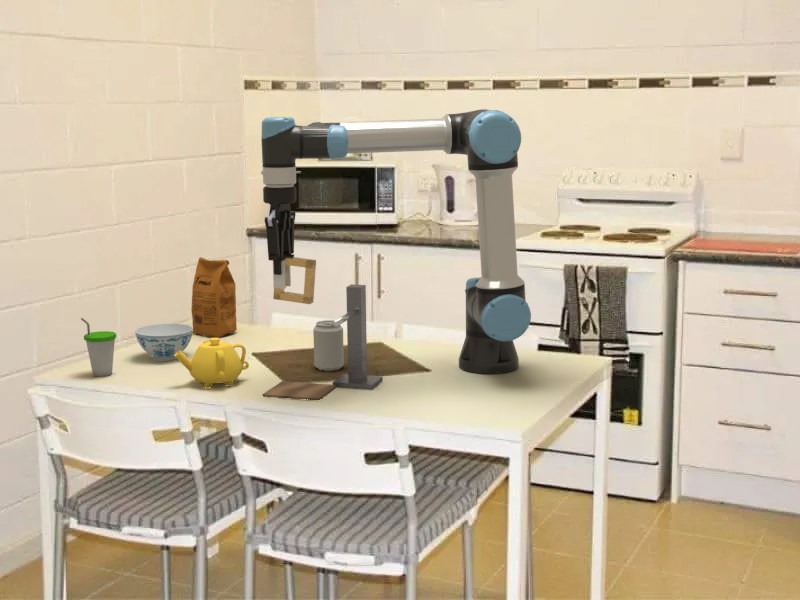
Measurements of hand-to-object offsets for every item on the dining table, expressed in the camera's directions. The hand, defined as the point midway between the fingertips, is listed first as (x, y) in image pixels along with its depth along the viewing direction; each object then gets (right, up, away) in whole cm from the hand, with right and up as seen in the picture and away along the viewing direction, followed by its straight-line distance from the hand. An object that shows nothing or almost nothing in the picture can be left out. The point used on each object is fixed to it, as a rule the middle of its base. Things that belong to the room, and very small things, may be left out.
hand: (282, 286), depth 268 cm
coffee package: (-26, -13, +67) cm, 73 cm away
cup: (-47, -22, +22) cm, 56 cm away
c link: (+3, -3, 0) cm, 4 cm away
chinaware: (-35, -19, +39) cm, 55 cm away
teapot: (-18, -23, +13) cm, 33 cm away
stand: (+16, -24, +5) cm, 29 cm away
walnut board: (+4, -25, +4) cm, 25 cm away
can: (+9, -21, +26) cm, 34 cm away
